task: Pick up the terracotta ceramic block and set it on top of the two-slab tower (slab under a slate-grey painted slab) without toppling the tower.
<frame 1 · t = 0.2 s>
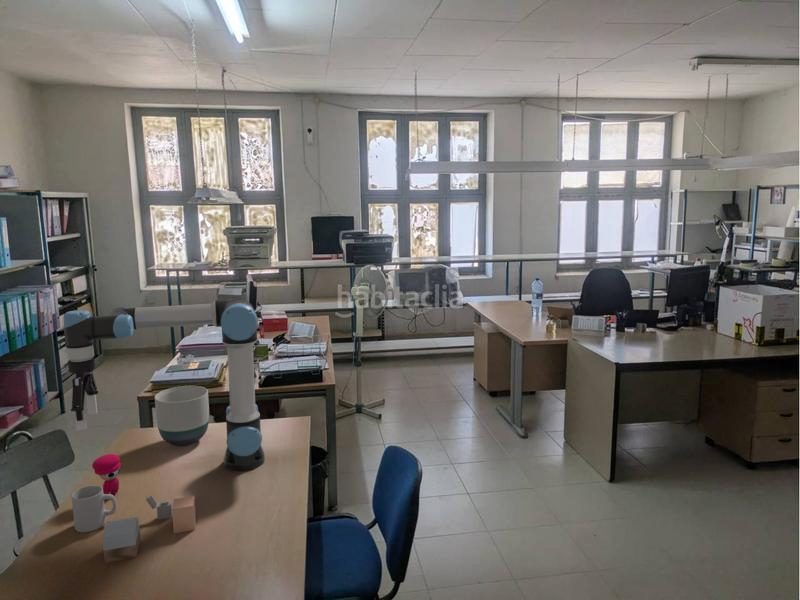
hand: (87, 421, 178), 28 cm above the table, fingers open, 13 cm apart
tower base: (123, 552, 155), on the table, touching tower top
mug: (96, 524, 169), on the table
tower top: (121, 539, 155), point 4 cm above the table, touching tower base
lighter: (160, 518, 172), on the table
planter: (185, 443, 227), on the table
toy: (110, 497, 184), on the table
clay block: (185, 526, 168), on the table
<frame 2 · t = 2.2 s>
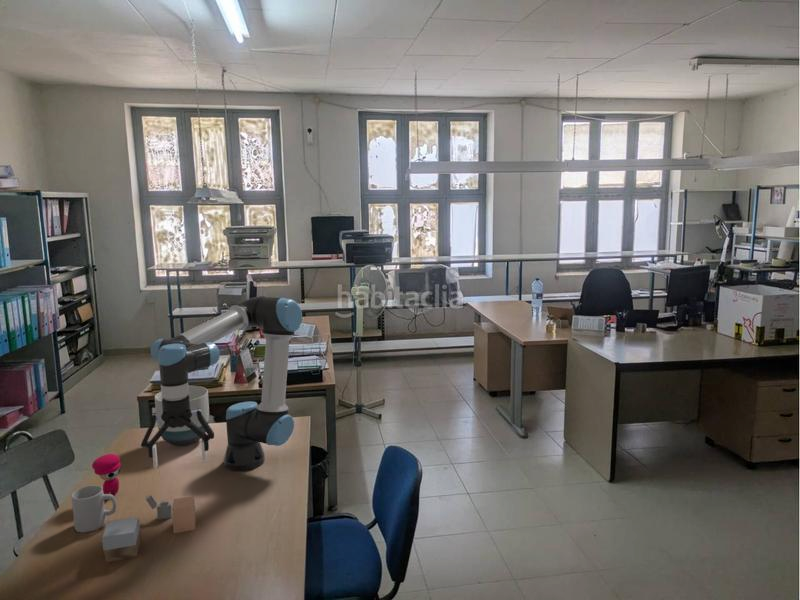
hand: (180, 463, 164), 21 cm above the table, fingers open, 13 cm apart
nothing on the table moved.
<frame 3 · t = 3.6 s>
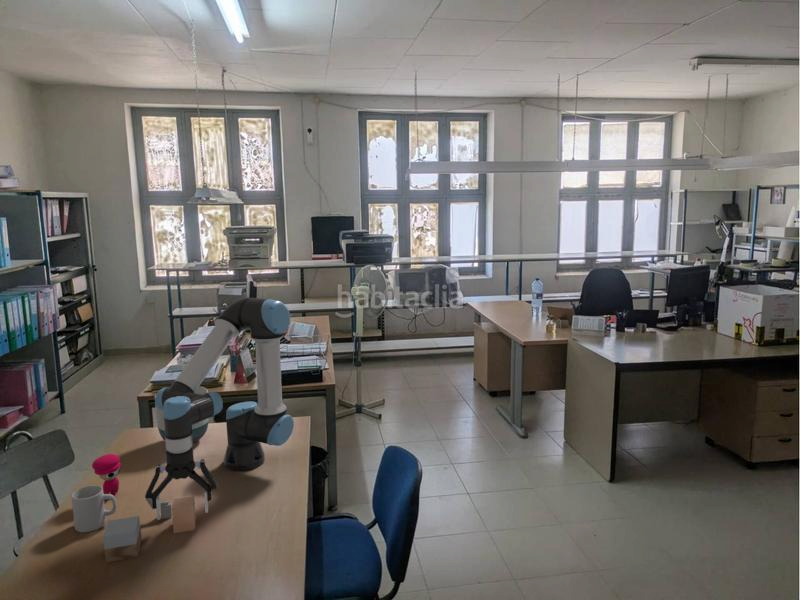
hand: (183, 514, 167), 4 cm above the table, fingers open, 13 cm apart
nothing on the table moved.
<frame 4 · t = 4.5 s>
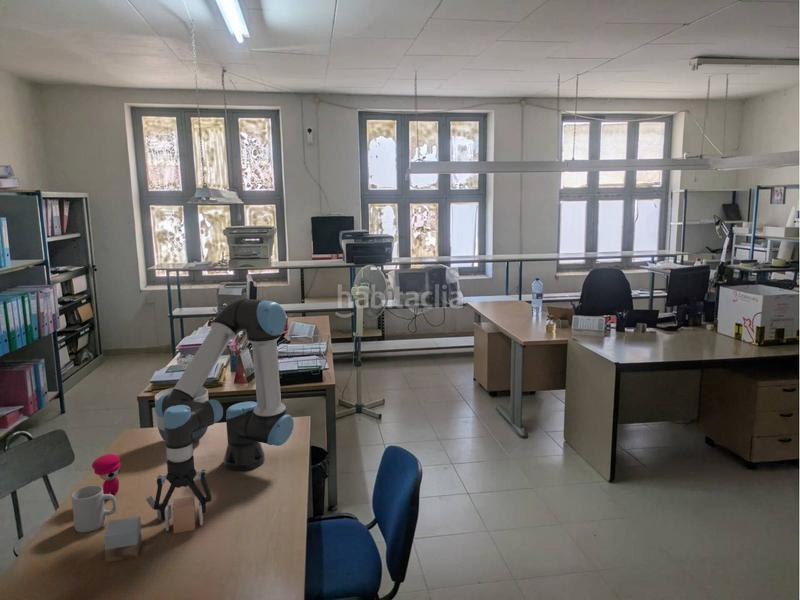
hand: (184, 525, 168), 0 cm above the table, fingers open, 9 cm apart
nothing on the table moved.
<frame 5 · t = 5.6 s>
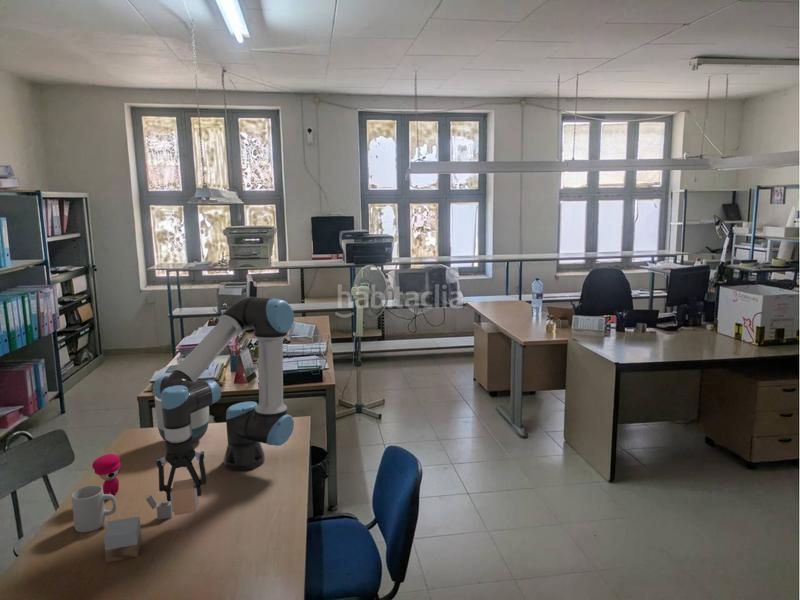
hand: (185, 507, 167), 6 cm above the table, fingers closed on clay block, 6 cm apart
clay block: (185, 508, 167), point 5 cm above the table, touching gripper
everything else where it was.
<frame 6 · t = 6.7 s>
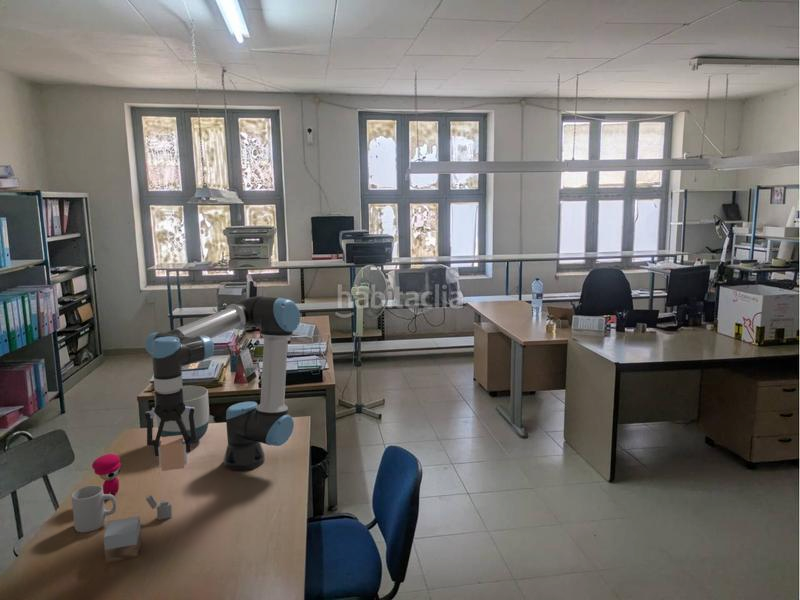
hand: (173, 463, 163), 21 cm above the table, fingers closed on clay block, 6 cm apart
clay block: (173, 465, 163), point 21 cm above the table, touching gripper
everything else where it was.
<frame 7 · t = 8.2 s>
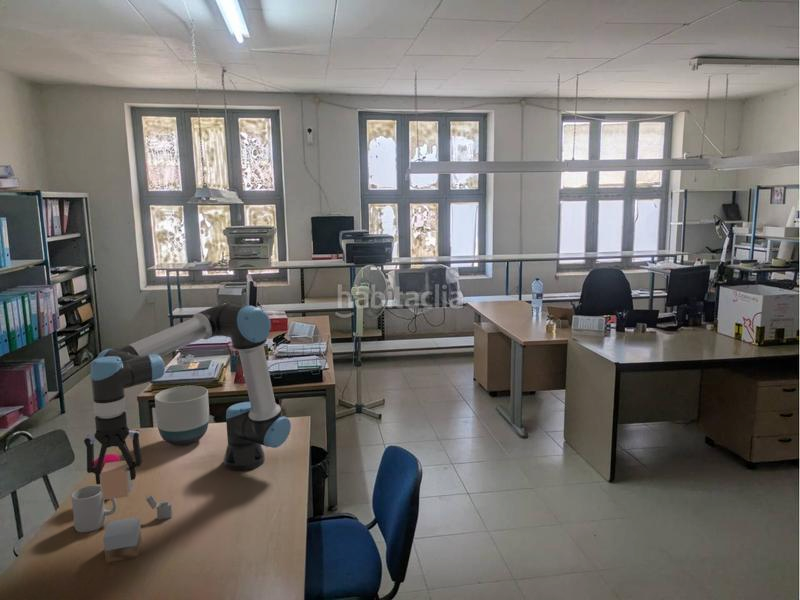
hand: (117, 491, 152), 18 cm above the table, fingers closed on clay block, 6 cm apart
clay block: (117, 492, 152), point 18 cm above the table, touching gripper
everything else where it was.
when the fingers open (9 cm above the table, at t = 10.1 s): clay block stays where it is, resting on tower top.
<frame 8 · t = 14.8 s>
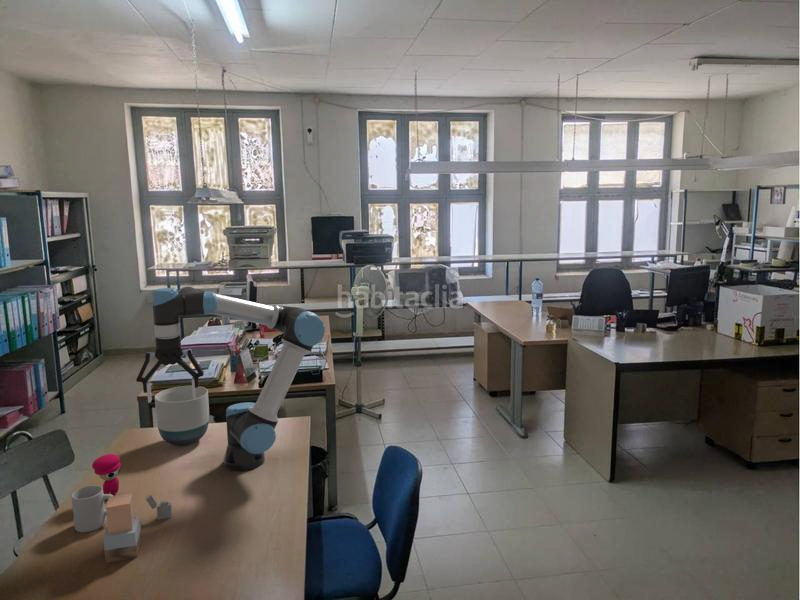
hand: (172, 399, 179), 35 cm above the table, fingers open, 13 cm apart
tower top: (123, 539, 155), point 4 cm above the table, touching clay block, tower base
clay block: (121, 526, 154), point 8 cm above the table, touching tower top
everything else where it was.
at the end: clay block 0.3 cm from the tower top (horizontally); clay block point 7.7 cm above the table; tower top tilted 0° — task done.
